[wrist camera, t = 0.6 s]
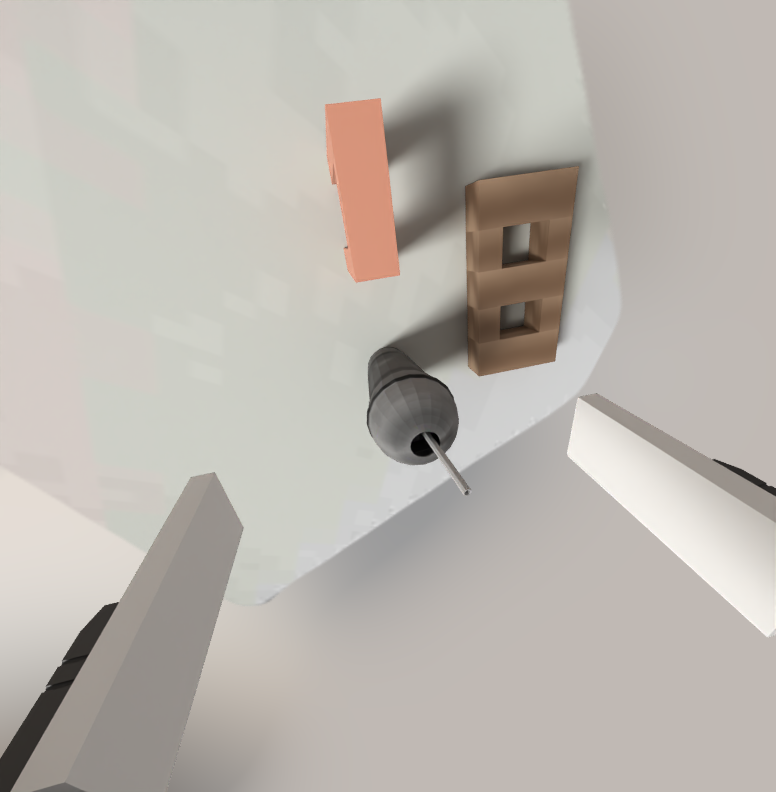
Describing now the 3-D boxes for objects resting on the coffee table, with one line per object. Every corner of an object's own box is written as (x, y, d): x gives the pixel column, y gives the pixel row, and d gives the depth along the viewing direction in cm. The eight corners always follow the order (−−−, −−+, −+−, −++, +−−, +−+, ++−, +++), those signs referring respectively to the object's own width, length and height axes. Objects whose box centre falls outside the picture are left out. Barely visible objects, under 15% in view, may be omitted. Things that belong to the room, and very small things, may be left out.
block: (326, 155, 26) (325, 104, 16) (362, 151, 26) (380, 98, 17) (347, 270, 30) (356, 282, 20) (378, 265, 30) (400, 275, 21)
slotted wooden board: (465, 186, 28) (479, 180, 26) (556, 173, 29) (578, 166, 26) (468, 366, 36) (479, 376, 34) (539, 352, 37) (555, 361, 35)
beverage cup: (362, 329, 32) (401, 429, 15) (426, 340, 34) (530, 443, 16) (350, 391, 35) (371, 538, 18) (410, 398, 37) (484, 539, 19)
